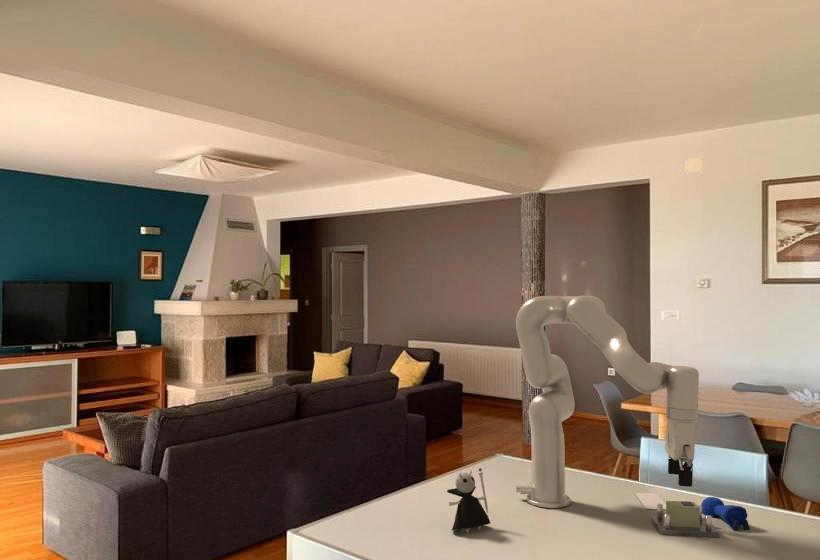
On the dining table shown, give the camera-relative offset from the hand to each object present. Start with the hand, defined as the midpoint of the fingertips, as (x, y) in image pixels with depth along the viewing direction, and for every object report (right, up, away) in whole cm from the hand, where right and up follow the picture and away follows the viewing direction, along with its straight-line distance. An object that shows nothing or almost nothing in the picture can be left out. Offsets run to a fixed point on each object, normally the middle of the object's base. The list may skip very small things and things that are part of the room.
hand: (679, 479), depth 164 cm
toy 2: (+14, -13, +5) cm, 20 cm away
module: (+1, -11, -1) cm, 11 cm away
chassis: (+1, -12, -1) cm, 12 cm away
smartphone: (+1, -13, +20) cm, 24 cm away
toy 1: (-55, -13, 0) cm, 56 cm away
